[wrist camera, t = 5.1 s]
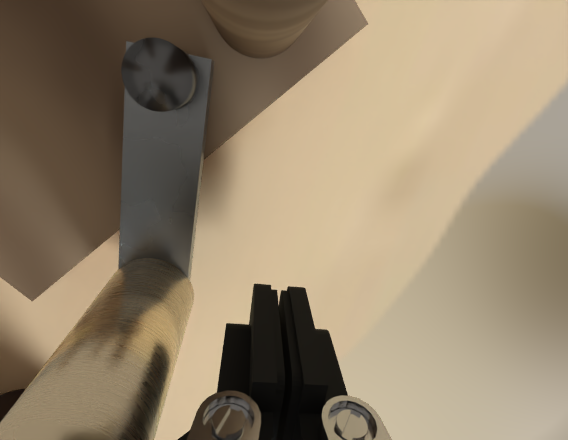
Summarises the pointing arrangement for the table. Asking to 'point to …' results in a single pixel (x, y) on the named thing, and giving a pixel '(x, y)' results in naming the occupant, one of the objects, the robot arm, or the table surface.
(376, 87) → the table surface
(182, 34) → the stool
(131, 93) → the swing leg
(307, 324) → the robot arm
